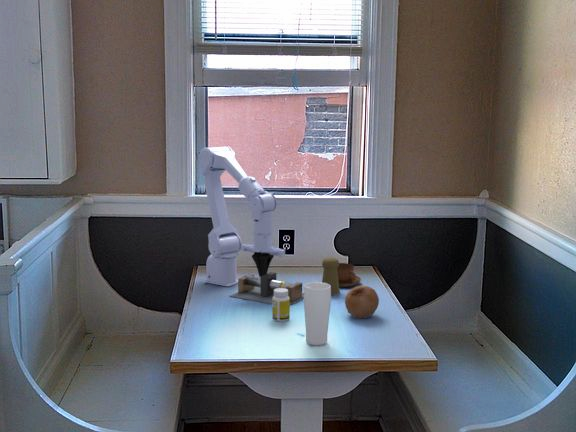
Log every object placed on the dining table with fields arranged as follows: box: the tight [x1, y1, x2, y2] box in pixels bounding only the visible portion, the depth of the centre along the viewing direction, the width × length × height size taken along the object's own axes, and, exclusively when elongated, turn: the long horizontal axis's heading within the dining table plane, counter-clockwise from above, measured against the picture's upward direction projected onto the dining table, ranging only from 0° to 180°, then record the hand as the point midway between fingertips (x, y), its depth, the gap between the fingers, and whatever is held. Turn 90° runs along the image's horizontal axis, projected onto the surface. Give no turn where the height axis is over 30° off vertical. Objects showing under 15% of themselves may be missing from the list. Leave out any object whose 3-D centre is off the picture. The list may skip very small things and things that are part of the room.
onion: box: [344, 285, 380, 319], centre depth 204 cm, size 10×9×10 cm
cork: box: [321, 257, 341, 296], centre depth 226 cm, size 6×6×11 cm
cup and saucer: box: [337, 262, 362, 288], centre depth 237 cm, size 12×12×6 cm
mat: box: [229, 287, 304, 306], centre depth 223 cm, size 20×14×1 cm
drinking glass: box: [303, 281, 332, 347], centre depth 183 cm, size 7×7×15 cm
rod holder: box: [237, 273, 303, 303], centre depth 223 cm, size 19×6×5 cm, turn 60°
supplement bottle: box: [271, 288, 291, 323], centre depth 201 cm, size 5×5×8 cm
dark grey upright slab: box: [260, 271, 277, 296], centre depth 223 cm, size 2×6×6 cm, turn 150°
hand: (262, 276), depth 223 cm, fingers closed
